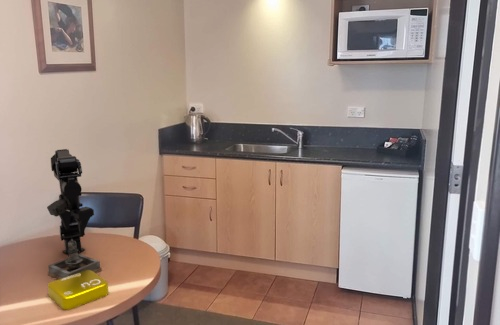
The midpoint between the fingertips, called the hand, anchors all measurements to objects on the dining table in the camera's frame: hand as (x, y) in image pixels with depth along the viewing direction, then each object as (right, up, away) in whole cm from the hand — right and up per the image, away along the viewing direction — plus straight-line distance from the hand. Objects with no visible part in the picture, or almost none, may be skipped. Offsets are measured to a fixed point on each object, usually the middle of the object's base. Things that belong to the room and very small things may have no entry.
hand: (74, 231), depth 164 cm
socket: (+2, -14, -5) cm, 15 cm away
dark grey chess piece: (+2, -13, -5) cm, 14 cm away
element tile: (+9, -18, -20) cm, 28 cm away
